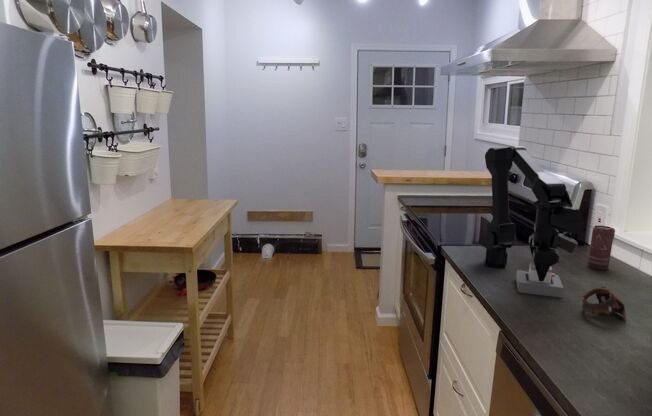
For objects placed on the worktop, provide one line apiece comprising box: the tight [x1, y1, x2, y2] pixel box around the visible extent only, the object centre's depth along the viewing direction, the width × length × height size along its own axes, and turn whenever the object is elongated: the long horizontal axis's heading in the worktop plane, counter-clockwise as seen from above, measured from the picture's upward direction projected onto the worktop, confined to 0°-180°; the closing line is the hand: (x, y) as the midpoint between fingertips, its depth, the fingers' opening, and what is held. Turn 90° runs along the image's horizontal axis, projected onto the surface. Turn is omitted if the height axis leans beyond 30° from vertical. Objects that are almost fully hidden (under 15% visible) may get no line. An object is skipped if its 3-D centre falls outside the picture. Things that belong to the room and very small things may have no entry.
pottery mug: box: [581, 286, 627, 322], centre depth 119 cm, size 12×10×8 cm
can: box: [587, 225, 616, 271], centre depth 152 cm, size 6×6×14 cm
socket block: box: [515, 269, 565, 299], centre depth 135 cm, size 12×10×4 cm
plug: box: [528, 262, 553, 284], centre depth 134 cm, size 6×4×7 cm
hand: (539, 275), depth 134 cm, fingers open, 9 cm apart
